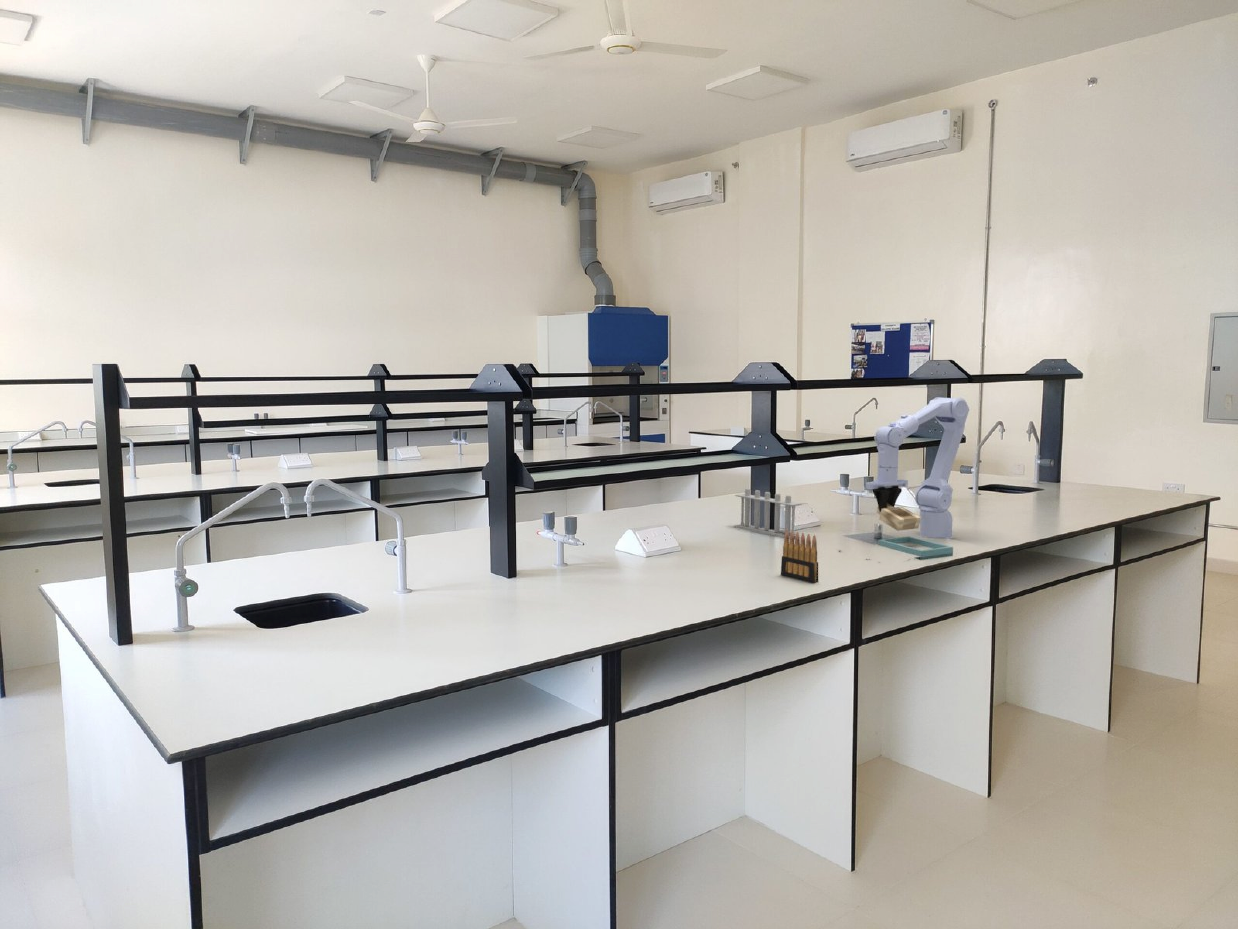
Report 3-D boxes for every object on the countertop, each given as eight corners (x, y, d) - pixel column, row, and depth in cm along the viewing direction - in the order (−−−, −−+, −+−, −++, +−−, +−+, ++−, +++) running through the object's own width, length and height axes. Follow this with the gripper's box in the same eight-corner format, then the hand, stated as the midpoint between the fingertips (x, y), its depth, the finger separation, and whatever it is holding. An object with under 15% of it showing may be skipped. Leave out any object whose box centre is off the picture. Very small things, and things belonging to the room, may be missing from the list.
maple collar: (918, 528, 248) (921, 517, 247) (897, 530, 245) (900, 519, 243) (889, 511, 259) (891, 500, 257) (869, 513, 255) (871, 502, 254)
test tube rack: (801, 538, 265) (802, 496, 263) (791, 540, 262) (792, 497, 260) (743, 526, 284) (744, 487, 283) (734, 527, 282) (735, 488, 280)
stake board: (907, 543, 256) (907, 526, 255) (874, 547, 250) (874, 529, 250) (874, 535, 268) (875, 518, 268) (842, 538, 263) (843, 521, 262)
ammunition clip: (780, 575, 218) (781, 529, 217) (785, 574, 219) (786, 528, 218) (813, 583, 210) (815, 536, 208) (818, 582, 211) (819, 535, 210)
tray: (908, 544, 255) (908, 536, 254) (952, 555, 240) (953, 547, 239) (877, 548, 250) (878, 539, 249) (921, 560, 234) (921, 551, 234)
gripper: (896, 464, 259) (894, 507, 261) (859, 466, 253) (858, 511, 255) (913, 466, 253) (911, 511, 255) (876, 469, 247) (874, 515, 248)
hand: (886, 511), depth 254 cm, fingers closed on maple collar, 2 cm apart
